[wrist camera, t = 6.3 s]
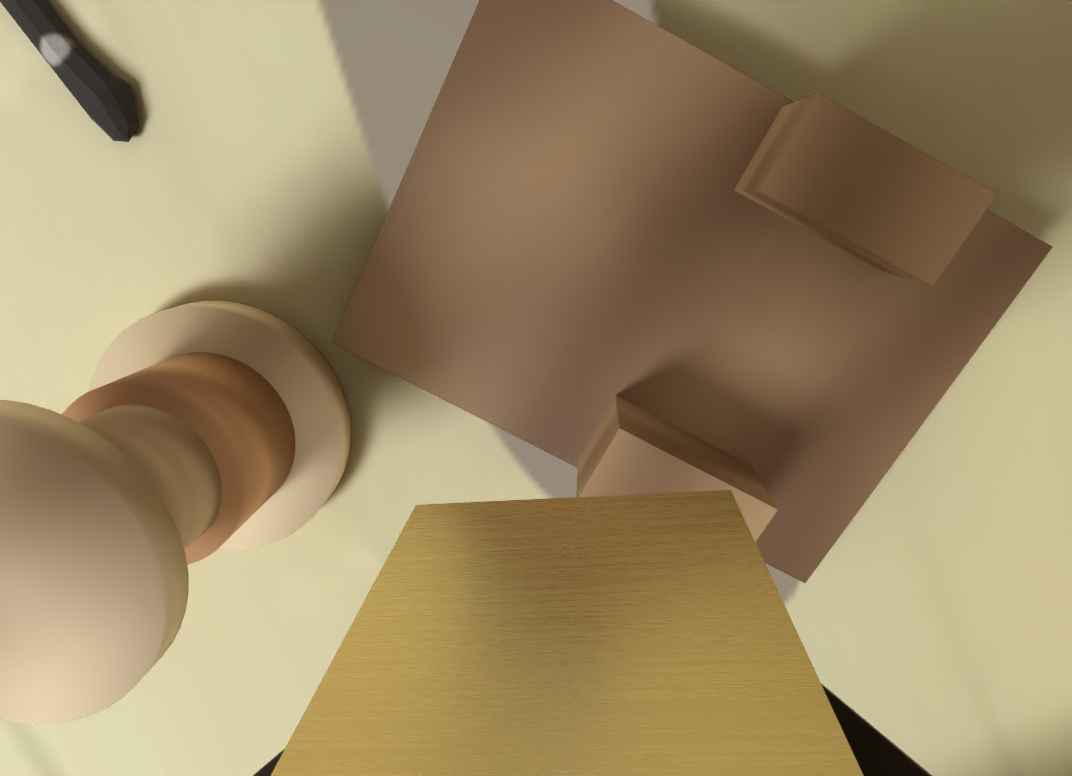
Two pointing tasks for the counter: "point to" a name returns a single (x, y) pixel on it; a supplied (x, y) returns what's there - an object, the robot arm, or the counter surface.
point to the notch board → (679, 271)
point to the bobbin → (152, 494)
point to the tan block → (572, 650)
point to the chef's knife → (77, 68)
